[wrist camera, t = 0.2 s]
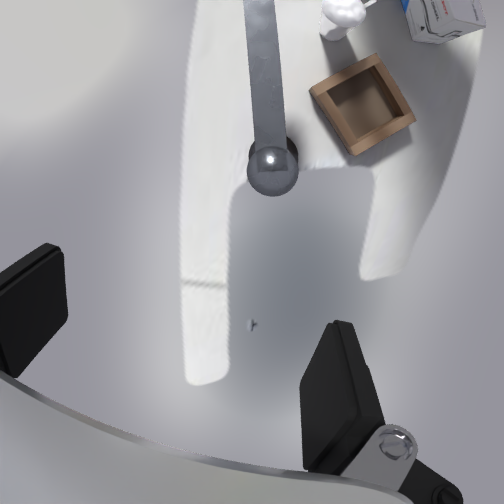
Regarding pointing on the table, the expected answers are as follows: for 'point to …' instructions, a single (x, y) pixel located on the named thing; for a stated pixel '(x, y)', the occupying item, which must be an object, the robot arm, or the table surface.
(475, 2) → the ink box
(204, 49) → the table surface
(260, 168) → the lever
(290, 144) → the post
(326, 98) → the square wooden tray
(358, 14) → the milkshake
